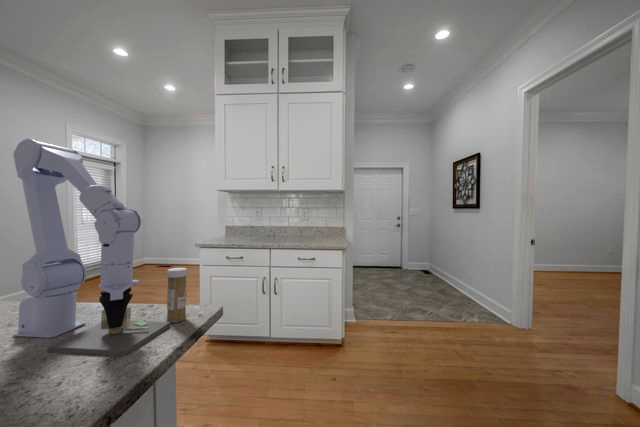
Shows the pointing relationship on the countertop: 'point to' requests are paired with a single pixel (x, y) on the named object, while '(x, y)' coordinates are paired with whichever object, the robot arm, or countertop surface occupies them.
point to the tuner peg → (124, 325)
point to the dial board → (109, 339)
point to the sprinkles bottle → (176, 295)
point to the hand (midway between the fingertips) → (115, 324)
